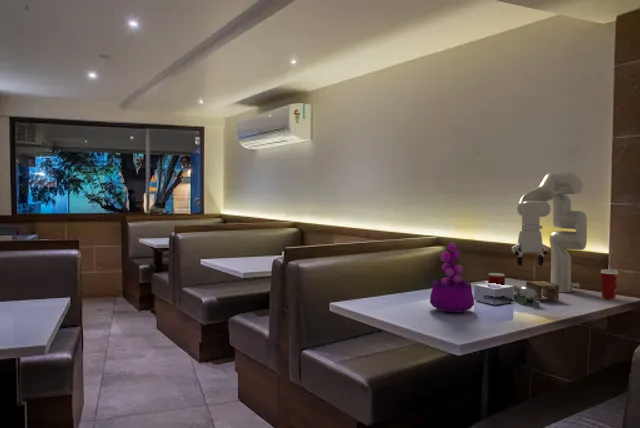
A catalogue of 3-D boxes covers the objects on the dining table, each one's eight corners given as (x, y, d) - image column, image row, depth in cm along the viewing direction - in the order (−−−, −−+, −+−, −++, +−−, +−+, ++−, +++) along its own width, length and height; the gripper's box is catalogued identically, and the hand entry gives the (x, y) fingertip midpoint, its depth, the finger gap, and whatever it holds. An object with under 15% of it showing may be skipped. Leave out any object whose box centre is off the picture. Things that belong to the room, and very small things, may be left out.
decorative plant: (443, 317, 207) (443, 245, 206) (422, 307, 224) (422, 241, 223) (482, 314, 212) (483, 243, 211) (459, 305, 229) (460, 240, 228)
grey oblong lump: (512, 294, 243) (511, 284, 243) (522, 293, 243) (521, 283, 243) (527, 301, 228) (526, 290, 228) (538, 299, 228) (537, 288, 228)
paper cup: (621, 300, 240) (621, 271, 240) (605, 300, 240) (605, 271, 240) (611, 297, 248) (612, 269, 247) (596, 297, 248) (596, 269, 248)
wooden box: (545, 296, 249) (545, 281, 249) (558, 301, 237) (558, 285, 237) (526, 296, 249) (526, 281, 248) (537, 301, 237) (538, 285, 237)
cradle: (526, 299, 242) (527, 293, 242) (539, 305, 230) (539, 298, 230) (510, 299, 241) (510, 293, 241) (522, 305, 229) (522, 298, 229)
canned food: (501, 298, 245) (502, 275, 245) (485, 296, 250) (486, 274, 250) (506, 295, 252) (507, 273, 251) (490, 293, 256) (491, 272, 256)
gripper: (544, 227, 234) (544, 263, 235) (508, 227, 233) (508, 264, 234) (553, 228, 227) (552, 266, 227) (515, 229, 225) (515, 266, 226)
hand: (530, 265), depth 230 cm, fingers open, 9 cm apart
